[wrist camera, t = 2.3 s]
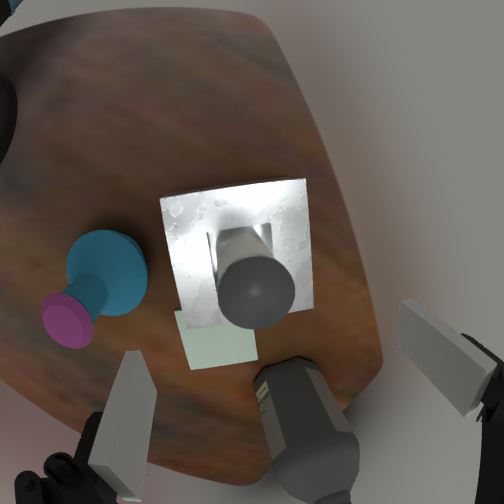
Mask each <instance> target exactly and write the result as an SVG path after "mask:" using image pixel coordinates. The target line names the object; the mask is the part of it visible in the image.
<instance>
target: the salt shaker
mask: <svg viewBox="0 0 504 504" xmlns="http://www.w3.org/2000/svg"><path fill="white" fill-rule="evenodd" d="M215 248H216V259H217V269H218V279H219V282H218V286H217V299H218V305H219V308H220V310H221V312H222V314H223V315H224V316H225V318H226V319H227V320H228V321H230V322H231V323H232V324H234V325H236V326H238V327H241V328H244V329H251V330H256V329H263V328H267V327H269V326H272V325H274V324H276V323H277V322H279V321H280V320H281V319H283V318H284V317H285V316H286V314H287V313H288V312H289V310H290V309H291V307H292V305H293V302H294V299H295V284H294V281H293V278H292V276H291V274H290V273H289V271H288V270H287V269H286V268H285V266H284V265H283V264H282V263H280V262H279V261H278V260H276V259H275V257H274V256H273V254H272V253H271V252H270V250H269V249H268V247H267V246H266V245H265V243H264V242H263V240H262V239H261V238H260V236H259V235H258V233H257V232H256V231H255V230H254V229H253V228H251V227H249V226H244V227H237V228H231V229H224V230H223V231H222V232H221V233H220V234H219V236H218V238H217V240H216V246H215Z"/></svg>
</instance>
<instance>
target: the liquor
mask: <svg viewBox="0 0 504 504" xmlns="http://www.w3.org/2000/svg"><path fill="white" fill-rule="evenodd" d="M254 389H255V393H256V397H257V401H258V406H259V410H260V414H261V418H262V422H263V426H264V431H265V435H266V439H267V443H268V447H269V451H270V455H271V459H272V463H273V466H274V470H275V473H276V475H277V477H278V479H279V480H280V482H281V484H282V486H283V487H284V489H285V490H286V492H287V493H288V494H289V495H291V496H293V497H295V498H297V499H299V500H301V501H304V502H306V503H308V504H351V501H350V491H351V488H352V486H353V484H354V482H355V479H356V477H357V474H358V472H359V459H360V451H359V442H358V440H357V438H356V437H355V435H354V433H353V431H352V429H351V427H350V425H349V424H348V422H347V420H346V418H345V416H344V415H343V413H342V411H341V409H340V407H339V405H338V403H337V401H336V400H335V398H334V396H333V394H332V392H331V390H330V389H329V387H328V385H327V383H326V381H325V379H324V377H323V376H322V374H321V372H320V370H319V368H318V366H317V365H316V363H313V362H310V361H307V360H304V359H301V358H298V357H297V358H294V359H291V360H288V361H285V362H282V363H279V364H276V365H272V366H269V367H266V368H264V370H263V371H262V372H261V374H260V375H259V376H258V378H257V379H256V380H255V382H254Z"/></svg>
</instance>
